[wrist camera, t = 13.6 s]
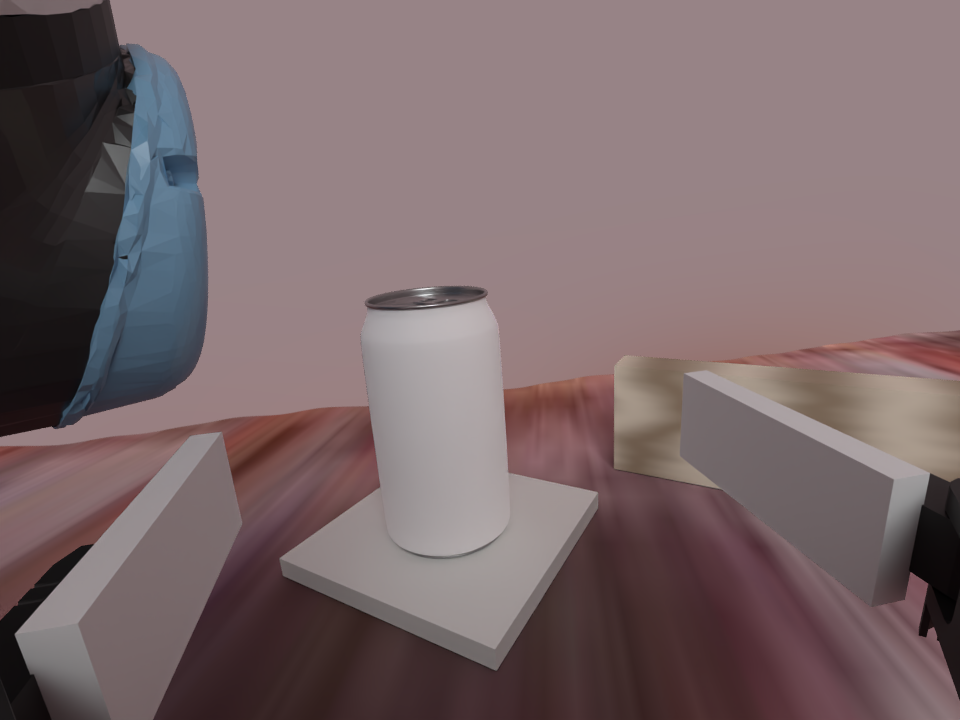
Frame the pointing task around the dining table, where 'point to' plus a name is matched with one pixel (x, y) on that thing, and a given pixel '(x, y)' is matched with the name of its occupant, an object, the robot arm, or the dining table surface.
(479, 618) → the pad
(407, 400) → the can
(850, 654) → the dining table surface
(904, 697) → the dining table surface
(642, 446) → the beige brown patterned panel
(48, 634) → the robot arm
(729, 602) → the dining table surface
